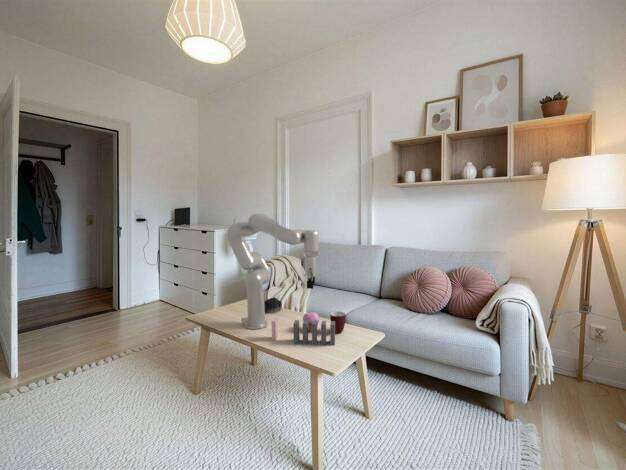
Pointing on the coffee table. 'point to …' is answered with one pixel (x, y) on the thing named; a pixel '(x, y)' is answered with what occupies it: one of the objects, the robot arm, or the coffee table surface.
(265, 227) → the robot arm
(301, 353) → the coffee table surface
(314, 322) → the domino
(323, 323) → the domino
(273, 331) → the rose domino
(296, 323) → the domino
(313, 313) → the cupcake
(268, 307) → the crystal cluster
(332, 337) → the domino
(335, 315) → the mug
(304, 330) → the domino
